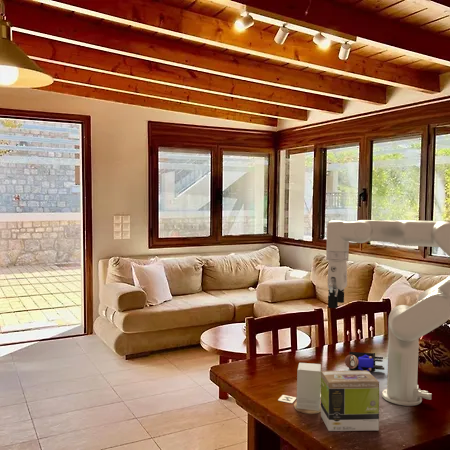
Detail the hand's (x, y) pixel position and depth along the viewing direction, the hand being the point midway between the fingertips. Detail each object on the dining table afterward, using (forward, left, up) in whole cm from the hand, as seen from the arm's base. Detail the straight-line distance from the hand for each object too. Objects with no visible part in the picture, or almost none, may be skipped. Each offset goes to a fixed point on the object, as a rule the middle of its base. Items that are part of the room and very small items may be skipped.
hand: (336, 305), depth 167 cm
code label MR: (+12, +15, -30) cm, 36 cm away
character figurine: (-6, -25, -31) cm, 40 cm away
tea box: (-10, +23, -31) cm, 40 cm away
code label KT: (+5, +8, -30) cm, 32 cm away
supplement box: (+4, +18, -30) cm, 35 cm away
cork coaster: (+4, +18, -30) cm, 35 cm away
